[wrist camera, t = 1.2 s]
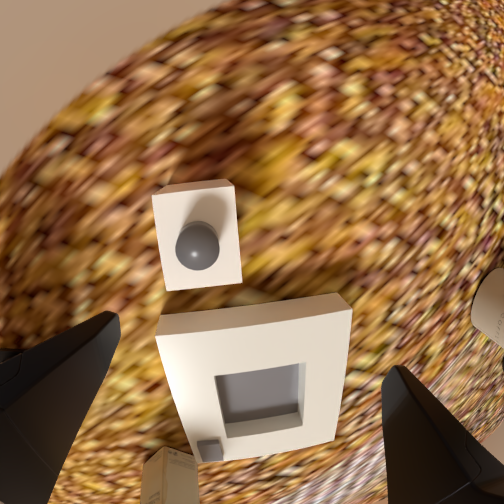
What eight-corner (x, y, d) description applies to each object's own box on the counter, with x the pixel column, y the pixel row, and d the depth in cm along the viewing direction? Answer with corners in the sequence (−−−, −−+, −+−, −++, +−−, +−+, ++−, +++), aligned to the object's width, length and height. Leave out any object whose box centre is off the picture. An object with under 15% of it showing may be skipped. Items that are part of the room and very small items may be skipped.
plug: (176, 255, 21) (163, 304, 14) (167, 185, 20) (145, 199, 12) (232, 249, 22) (246, 294, 14) (226, 178, 20) (237, 189, 13)
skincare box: (164, 443, 27) (160, 539, 15) (199, 456, 28) (206, 547, 16) (141, 465, 28) (135, 548, 16) (174, 476, 29) (175, 557, 17)
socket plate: (196, 441, 27) (197, 467, 24) (160, 315, 22) (153, 340, 19) (324, 421, 29) (335, 444, 25) (336, 292, 24) (355, 312, 20)
